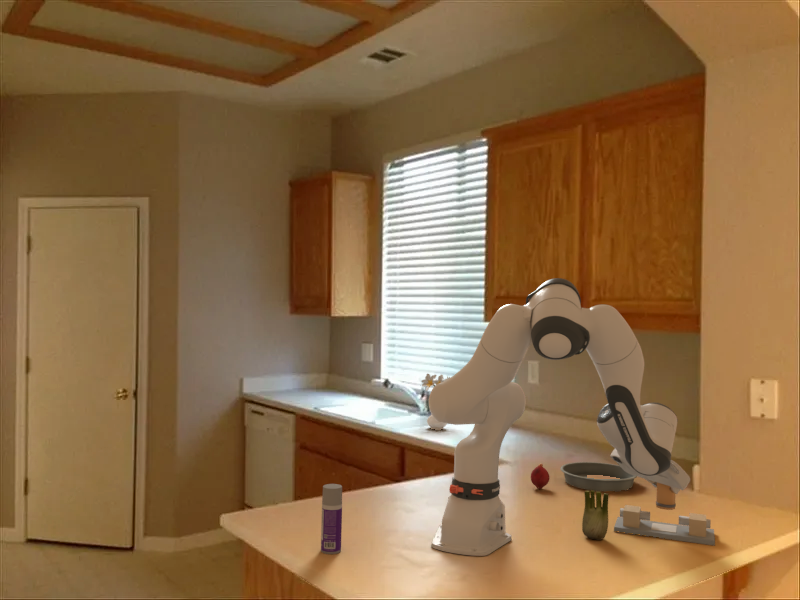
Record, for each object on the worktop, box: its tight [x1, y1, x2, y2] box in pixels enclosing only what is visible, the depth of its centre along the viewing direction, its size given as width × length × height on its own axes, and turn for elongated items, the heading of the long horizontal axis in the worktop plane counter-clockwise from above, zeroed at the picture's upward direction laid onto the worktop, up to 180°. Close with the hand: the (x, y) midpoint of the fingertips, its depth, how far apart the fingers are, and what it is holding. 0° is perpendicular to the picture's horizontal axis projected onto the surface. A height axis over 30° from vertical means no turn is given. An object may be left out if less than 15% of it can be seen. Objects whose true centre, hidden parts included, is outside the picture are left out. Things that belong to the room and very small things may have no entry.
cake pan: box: [560, 461, 638, 492], centre depth 239 cm, size 25×25×4 cm
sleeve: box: [655, 482, 676, 511], centre depth 188 cm, size 5×5×9 cm
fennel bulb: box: [581, 490, 610, 541], centre depth 182 cm, size 6×5×12 cm
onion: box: [530, 463, 551, 490], centre depth 229 cm, size 6×6×8 cm
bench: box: [613, 504, 716, 546], centre depth 188 cm, size 10×24×5 cm, turn 68°
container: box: [320, 483, 343, 555], centre depth 169 cm, size 5×5×15 cm
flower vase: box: [421, 373, 451, 431], centre depth 332 cm, size 13×18×25 cm
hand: (667, 488), depth 188 cm, fingers closed on sleeve, 5 cm apart
